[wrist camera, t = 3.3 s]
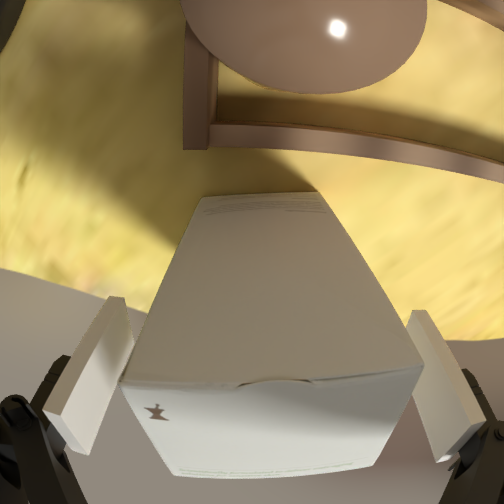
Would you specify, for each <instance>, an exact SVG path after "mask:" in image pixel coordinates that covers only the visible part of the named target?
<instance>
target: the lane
mask: <svg viewBox="0 0 504 504" xmlns="http://www.w3.org/2000/svg"><path fill="white" fill-rule="evenodd" d="M438 1H441V2H444V3H446V4H448V5H451V6H453V7H456V8H458V9H460V10H462V11H465V12H467V13H469V14H471V15H473V16H475V17H477V18H479V19H481V20H483V21H485V22H487V23H489V24H491V25H493V26H495V27H497V28H499V29H501V30H502V31H504V1H502V0H438ZM218 64H219V59H218V58H217V57H216V56H214V55H213V54H212V53H211V52H210V51H209V50H208V49H207V48H206V47H205V46H204V45H203V44H202V43H201V42H200V40H199V39H198V37H197V36H196V35H195V33H194V32H193V31H192V29H191V27H190V25H189V24H188V22H187V20H186V31H185V52H184V84H183V150H207V148H208V147H246V148H267V149H284V150H298V151H310V152H322V153H332V154H341V155H350V156H358V157H366V158H374V159H381V160H388V161H395V162H401V163H407V164H413V165H419V166H425V167H430V168H436V169H441V170H446V171H451V172H456V173H461V174H465V175H470V176H474V177H479V178H483V179H487V180H491V181H495V182H499V183H503V184H504V163H503V162H500V161H496V160H493V159H489V158H486V157H482V156H479V155H475V154H471V153H468V152H464V151H460V150H456V149H452V148H447V147H443V146H439V145H434V144H430V143H425V142H420V141H415V140H410V139H405V138H400V137H394V136H388V135H382V134H376V133H370V132H363V131H356V130H348V129H340V128H332V127H323V126H313V125H302V124H290V123H275V122H256V121H220V120H217V93H218Z"/></svg>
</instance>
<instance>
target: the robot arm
mask: <svg viewBox="0 0 504 504" xmlns="http://www.w3.org/2000/svg"><path fill="white" fill-rule="evenodd" d="M24 3H25V0H0V52H1V51H2V49H3V47H4V46H5V44H6V42H7V41H8V39H9V37H10V35H11V33H12V31H13V29H14V27H15V25H16V23H17V21H18V18H19V16H20V14H21V11H22V9H23V6H24ZM406 330H407V332H408V333H409V335H410V337H411V339H412V341H413V343H414V344H415V346H416V348H417V350H418V352H419V354H420V355H421V357H422V359H423V361H424V363H425V367H424V369H423V371H422V373H421V375H420V378H419V380H418V382H417V384H416V386H415V388H414V391H413V393H412V395H413V398H414V401H415V403H416V406H417V409H418V411H419V414H420V417H421V419H422V422H423V425H424V428H425V431H426V434H427V437H428V440H429V443H430V446H431V449H432V452H433V455H434V458H435V461H436V463H437V462H442V461H445V460H449V459H451V458H452V457H453V456H454V455H455V454H456V453H457V452H459V454H460V458H459V459H458V460H457V461H456V462H455V463H453V464H452V465H451V467H450V468H449V469H448V471H450V470H452V469H453V468H454V470H453V472H452V475H451V477H450V479H449V482H448V484H447V487H446V489H445V491H444V493H443V495H442V498H441V500H440V502H439V504H504V421H497V419H496V417H495V415H494V413H493V412H492V409H491V407H490V405H489V403H488V401H487V399H486V397H485V395H484V394H483V392H482V390H481V388H480V387H479V384H478V382H477V380H476V379H475V377H474V375H472V373H470V372H469V371H468V370H467V369H460V368H459V365H458V364H457V362H456V360H455V358H454V356H453V355H452V353H451V351H450V349H449V347H448V346H447V344H446V342H445V341H444V339H443V337H442V335H441V334H440V332H439V330H438V329H437V327H436V325H435V324H434V322H433V320H432V319H431V317H430V316H429V314H428V312H427V311H426V310H412V313H411V316H410V319H409V321H408V324H407V326H406ZM133 345H134V339H133V335H132V331H131V327H130V322H129V318H128V313H127V309H126V304H125V299H124V297H114V296H109V297H108V299H107V300H106V302H105V303H104V305H103V306H102V308H101V310H100V311H99V313H98V314H97V316H96V317H95V319H94V320H93V322H92V324H91V325H90V327H89V329H88V330H87V332H86V333H85V335H84V337H83V338H82V340H81V341H80V343H79V345H78V346H77V348H76V350H75V351H74V353H73V355H72V357H71V356H66V355H62V356H61V357H60V358H58V359H57V360H56V361H55V362H54V363H53V365H52V366H51V368H50V370H49V371H48V374H47V375H46V376H45V378H44V381H43V382H42V383H41V385H40V386H39V388H38V390H37V392H36V393H35V395H34V397H33V399H32V401H31V403H30V404H29V403H28V401H27V400H26V399H25V398H24V397H23V396H21V395H17V394H16V395H10V396H8V397H6V398H5V399H4V400H3V401H2V402H1V404H0V504H29V503H30V504H88V503H87V501H86V499H85V497H84V495H83V493H82V491H81V488H80V486H79V484H78V482H77V479H76V477H75V475H74V472H73V470H72V468H71V465H70V463H69V460H68V458H67V455H66V453H65V451H64V447H65V445H66V443H67V445H68V446H69V447H70V448H71V450H73V451H76V452H79V453H82V454H85V455H89V454H90V451H91V448H92V445H93V443H94V440H95V437H96V435H97V432H98V430H99V427H100V424H101V422H102V419H103V417H104V414H105V412H106V409H107V406H108V404H109V402H110V399H111V397H112V394H113V391H114V389H115V387H116V384H117V380H118V378H119V376H120V374H121V373H122V370H123V368H124V366H125V363H126V361H127V359H128V356H129V354H130V352H131V349H132V347H133ZM28 501H29V503H28Z"/></svg>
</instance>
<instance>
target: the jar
mask: <svg viewBox="0 0 504 504" xmlns="http://www.w3.org/2000/svg"><path fill="white" fill-rule="evenodd" d="M180 4H181V7H182V10H183V13H184V16H185V18H186V20H187V22H188V24H189V25H190V27H191V29H192V31H193V32H194V33H195V35H196V36H197V37H198V39H199V40H200V42H201V43H202V44H203V45H204V46H205V47H206V48H207V49H208V50H209V51H210V52H211V53H212V54H213V55H214V56H216V57H217V58H218V59H219V60H220V61H222V62H223V63H224V64H225V65H226V66H228V67H229V68H231V69H232V70H234V71H235V72H237V73H239V74H240V75H242V76H243V77H244V78H245V79H247V80H248V81H250V82H251V83H253V84H255V85H257V86H259V87H262V88H265V89H268V90H273V91H280V92H294V93H300V94H331V93H342V92H347V91H353V90H357V89H360V88H363V87H366V86H370V85H372V84H374V83H376V82H378V81H380V80H383V79H384V78H386V77H387V76H389V75H390V74H392V73H394V72H395V71H396V70H397V69H398V68H400V67H401V66H402V65H403V64H404V63H405V62H406V61H407V60H408V59H409V57H410V56H411V55H412V54H413V52H414V51H415V49H416V47H417V46H418V44H419V42H420V40H421V37H422V34H423V32H424V28H425V23H426V19H427V0H180Z"/></svg>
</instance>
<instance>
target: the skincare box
mask: <svg viewBox="0 0 504 504" xmlns="http://www.w3.org/2000/svg"><path fill="white" fill-rule="evenodd" d="M424 367H425V363H424V361H423V359H422V357H421V355H420V354H419V352H418V350H417V348H416V346H415V344H414V343H413V341H412V339H411V337H410V335H409V333H408V332H407V330H406V328H405V326H404V325H403V323H402V321H401V319H400V318H399V316H398V314H397V312H396V311H395V309H394V307H393V305H392V304H391V302H390V300H389V299H388V297H387V295H386V294H385V292H384V290H383V289H382V287H381V285H380V284H379V282H378V280H377V279H376V277H375V276H374V274H373V272H372V271H371V269H370V268H369V266H368V265H367V263H366V261H365V260H364V258H363V256H362V255H361V253H360V252H359V250H358V249H357V247H356V246H355V244H354V243H353V241H352V239H351V238H350V236H349V235H348V233H347V232H346V230H345V229H344V227H343V226H342V224H341V223H340V221H339V220H338V218H337V217H336V215H335V214H334V212H333V211H332V209H331V208H330V207H329V205H328V204H327V202H326V201H325V199H324V198H323V197H322V195H321V194H320V192H287V193H260V194H240V195H223V196H211V197H202V198H201V199H200V201H199V203H198V205H197V207H196V209H195V211H194V213H193V215H192V218H191V220H190V222H189V224H188V226H187V228H186V230H185V232H184V235H183V237H182V239H181V241H180V243H179V245H178V247H177V249H176V252H175V254H174V256H173V258H172V260H171V263H170V265H169V267H168V269H167V271H166V274H165V276H164V278H163V280H162V283H161V285H160V287H159V289H158V292H157V294H156V296H155V299H154V301H153V303H152V306H151V308H150V310H149V313H148V315H147V318H146V320H145V323H144V325H143V327H142V330H141V332H140V334H139V337H138V339H137V341H136V343H135V346H134V348H133V350H132V353H131V355H130V357H129V359H128V362H127V364H126V366H125V368H124V369H123V371H122V373H121V374H120V376H119V378H118V380H117V384H118V386H119V388H120V389H121V391H122V393H123V394H124V396H125V398H126V400H127V402H128V403H129V405H130V407H131V409H132V410H133V412H134V414H135V415H136V417H137V419H138V421H139V422H140V424H141V425H142V427H143V429H144V431H145V432H146V434H147V435H148V437H149V438H150V440H151V442H152V443H153V445H154V447H155V448H156V450H157V451H158V453H159V455H160V456H161V458H162V459H163V461H164V462H165V464H166V465H167V467H168V468H169V470H170V471H171V472H172V474H173V475H175V476H186V477H200V478H201V477H202V478H227V479H230V478H232V479H233V478H236V479H238V478H273V477H274V478H275V477H291V476H302V475H312V474H321V473H329V472H337V471H344V470H350V469H357V468H363V467H368V466H372V465H373V464H374V462H375V461H376V459H377V458H378V456H379V454H380V453H381V451H382V449H383V447H384V445H385V444H386V442H387V440H388V438H389V436H390V435H391V433H392V431H393V429H394V428H395V426H396V424H397V422H398V420H399V418H400V416H401V414H402V413H403V410H404V409H405V406H406V404H407V403H408V400H409V399H410V397H411V395H412V393H413V391H414V388H415V386H416V384H417V382H418V380H419V378H420V375H421V373H422V371H423V369H424Z"/></svg>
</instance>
